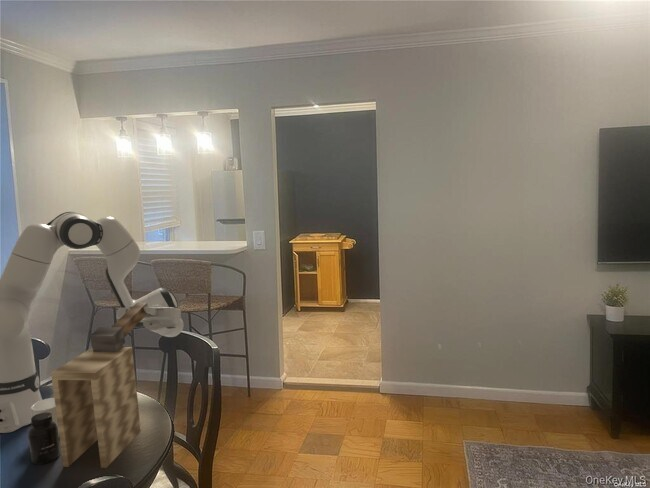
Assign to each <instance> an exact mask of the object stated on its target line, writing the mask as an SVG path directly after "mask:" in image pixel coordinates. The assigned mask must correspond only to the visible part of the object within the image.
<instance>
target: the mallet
mask: <svg viewBox="0 0 650 488" xmlns="http://www.w3.org/2000/svg"><path fill="white" fill-rule="evenodd" d="M143 307H148V304H147V303H136V304H135V305H134V306H133V307H132V308H131V309H130V310H129V311H128V312H127V313H126V314H124V315H123V316H122V317H121V318H120V319H117V321H116V322H115V323H114V324H113V325H112V326H108V327H106V326H103V327H102V326H101V327H98V328H97V329H95V330H94V332H92V333H91V334H90V335H89V341H90V344H91V348H92V349H93V352H117V351H118V350H119V349H120V348H121V347H124V345H125V344H126V340H125V338H126V337H127V336H128V335H129V334H130V333H131V332H132V331H133V329H135V328H136V327H135V326H136V325H137V324H138V323H139V322H140V321H141V320H142V319H143V318H144V317H145V316H146V315H147V314H148V313H144V312H143V311H142V310H143Z"/></svg>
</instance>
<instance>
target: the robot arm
mask: <svg viewBox="0 0 650 488" xmlns="http://www.w3.org/2000/svg"><path fill="white" fill-rule="evenodd" d="M64 246H66V247H67V248H70V249H73V250H82V249H86V248H90V247H93V246H95V247H96V248H98V249H99V250H100V252H101V253H102V255H103V256H104V258H105V260H106V262H107V263H106V264H107V267H106V268H105V276H106V279H107V282H108V283H109V287H110V288H111V290H112V292H113V294H114V296H115V298H116V300H117V302H118V304H119V306H120V307H119V308H118V309H117V311H116V319H117V320H119V319H120V318H121V317H122V316H123V315H124V314H126V313H127V312H128V311H129V310H130V309H131V308H132V307H133V306H134V305H135V304H136V303H147V304H148V307H143V310H142V311H143V312H144V313H148V314H147V315H146V316H145V317H144V318H143V319H142V320H141V321H140V322H139V323H138V324H137V325H136V326H135V327H134V328H137V329H142V328H143V327H145V329H147V330H149V331H151V332H154V333H156V334H159V335H161V336H163V337H166V338H174V337H177V336H178V335H179V334H181V333H182V331H183V330H184V320H183V319H182V309H180V308H179V303H178V300H177V297H176V296H175V294H174V293H173V292H172V291H170V290H168V289H166V288H164V287H160V288H156V289H154V290H153V291H150V292H149V293H147V294H146V295H144V296H142V297H140V298H138V299H133V298H132V296H131V294H130V291H129V290H128V287H127V285H126V284H125V279H126V277H127V275H129V274H130V272H131V271H132V270H133V269H134V268H135V267H136V265H137V264H138V262H139V261H140V257H141V250H140V247H139V245H138V243H137V242H136V241H135V239H134V237H133V236H132V234H131V233H130V231H128V229H127V228H125V226H124V225H123V224H122V223H121V222H120V221H119V219H117V218H115V217H113V216H105V217H100V218H99V219H97V220H93V219H90V218H89V217H87V216H85V215H83V214H82V213H79V212H76V211H75V212H74V211H65V212H63V213H60V214H59V215H57V216H56V217H54V218H53V219H52V220H50V221H49V222H48V223H47V224H45V223H40V222H39V223H37V222H36V223H31V224H30V223H29V225H27V226H26V227H25V229H23V231H22V233H21V234H20V236H19V237H18V239H17V241H16V242H15V245H14V246H13V249H12V251H11V252H10V256H9V257H8V260H7V262H6V265H5V267H4V269H3V272H2V274H1V276H0V434H9V433H12V432H15V431H16V430H19V429H20V428H22V427H25V426H28V425H30V424H31V418H32V417H33V415H32V410H31V407H32V405H33V404H35V403H37V402H39V401H41V400H43V398H42V395H41V391H40V377H39V374H38V370H37V369H36V364H35V355H34V349H33V342H32V337H31V331H30V330H31V329H30V324H29V323H30V322H29V313H30V310H31V308H32V306H33V304H34V302H35V299H36V297H37V296H38V293H39V292H40V289H41V288H42V285H43V282H44V281H45V278H46V276H47V273H48V272H49V271H48V270H49V269H50V267H51V264H52V261H53V258H54V255H55V254H56V252H57V251H58V250H59V249H60V248H61V247H64Z"/></svg>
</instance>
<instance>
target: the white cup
mask: <svg viewBox="0 0 650 488" xmlns="http://www.w3.org/2000/svg"><path fill="white" fill-rule="evenodd" d="M31 410H32V415H33V416H35V415H37V414H40V413H44V412H49V413H51V414H52V419H53V422H55V423H56V424H57V427H58V421H57V414H56V406H55V399H54V397H49V398H45V399H42V400H41V401H39V402H37V403H35V404H33V405H32V407H31ZM58 436H59V429H58Z"/></svg>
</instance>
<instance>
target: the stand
mask: <svg viewBox="0 0 650 488" xmlns="http://www.w3.org/2000/svg"><path fill="white" fill-rule="evenodd" d="M50 373H51V381H52V382H51V383H52V388H53V389H52V390H53V398H54V399H55V406H56V414H57V421H58V429H59V445H60V453H61V458H62V466H63V467H64V468H66V467H67V468H70V466H72V465H73V463H75V462H76V461H77V460H78V459H79V458H80V457H81V456H82V455H83V454H84V453H85V452H86V451H87V450H88V449H89V448H90V447H91V446H92V445H94V444H95V443H96V442H97V443H98V444H97V445H98V455H99V461H100V462H99V463H100V468H101V469H107V468H109V466H110V465H111V464H112V463H113V462H114V461H115V460H116V458H117V457H118V456H119V455H120V454H121V453H122V452H123V451H124V450H125V449H126V448H127V446H128V445H129V444H130V443H131V442H132V441H133V440H134V439H135V438H136V436H137V435H139V434H140V432H142V431H141V430H142V428H141V421H140V419H141V418H140V412H139V401H138V393H137V392H138V391H137V382H136V380H137V379H136V373H135V361H134V355H133V346H122V347H121V348H120V349H119V350H118V351H117V352H93V349H92V347H91V348H89V349H87V350H85V351H84V352H83V353H81V354H79V355H77V356H75V357H74V358H73V359H71V360H70V361H68V362H66V363H64V364H63V365H60V366H59V367H58V368H56V369H54V370H52V371H51V372H50Z"/></svg>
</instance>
